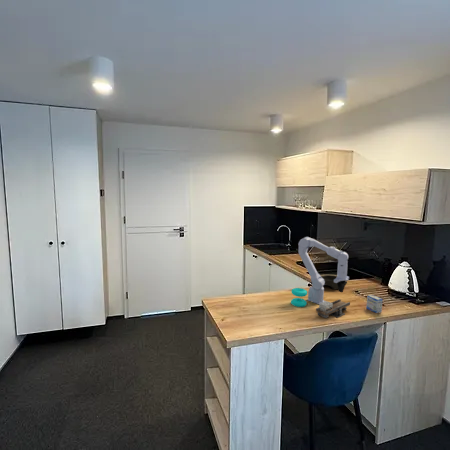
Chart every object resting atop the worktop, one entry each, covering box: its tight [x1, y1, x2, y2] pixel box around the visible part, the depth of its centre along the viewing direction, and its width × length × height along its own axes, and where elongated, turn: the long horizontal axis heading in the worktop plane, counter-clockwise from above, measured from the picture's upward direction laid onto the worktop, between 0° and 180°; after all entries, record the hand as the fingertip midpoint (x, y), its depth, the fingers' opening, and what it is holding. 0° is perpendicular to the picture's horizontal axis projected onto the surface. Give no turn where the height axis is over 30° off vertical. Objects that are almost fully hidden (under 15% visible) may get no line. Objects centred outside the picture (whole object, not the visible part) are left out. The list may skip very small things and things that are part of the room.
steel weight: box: [318, 300, 333, 312], centre depth 180 cm, size 4×7×4 cm, turn 129°
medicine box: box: [365, 294, 384, 314], centre depth 190 cm, size 8×4×9 cm, turn 24°
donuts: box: [290, 287, 308, 308], centre depth 197 cm, size 10×10×10 cm
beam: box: [315, 298, 351, 319], centre depth 185 cm, size 7×26×4 cm, turn 129°
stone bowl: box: [319, 274, 338, 290], centre depth 239 cm, size 25×25×9 cm
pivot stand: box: [329, 307, 347, 318], centre depth 187 cm, size 11×16×4 cm
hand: (340, 291), depth 196 cm, fingers closed
